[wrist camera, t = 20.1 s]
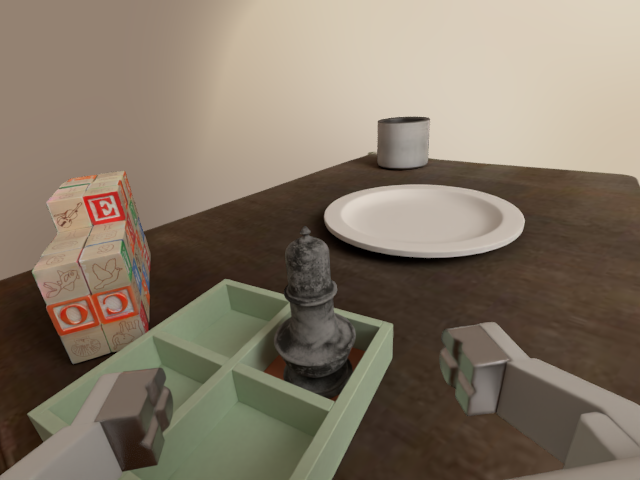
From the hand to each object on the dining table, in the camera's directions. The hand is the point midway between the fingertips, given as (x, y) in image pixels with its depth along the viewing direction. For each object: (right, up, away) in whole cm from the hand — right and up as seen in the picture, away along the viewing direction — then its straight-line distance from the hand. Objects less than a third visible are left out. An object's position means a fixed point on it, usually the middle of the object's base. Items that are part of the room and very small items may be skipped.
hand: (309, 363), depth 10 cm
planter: (+21, +23, +79) cm, 85 cm away
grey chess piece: (0, -7, +16) cm, 18 cm away
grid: (-6, -8, +15) cm, 18 cm away
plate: (+15, +6, +43) cm, 46 cm away
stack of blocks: (-22, -3, +30) cm, 37 cm away
